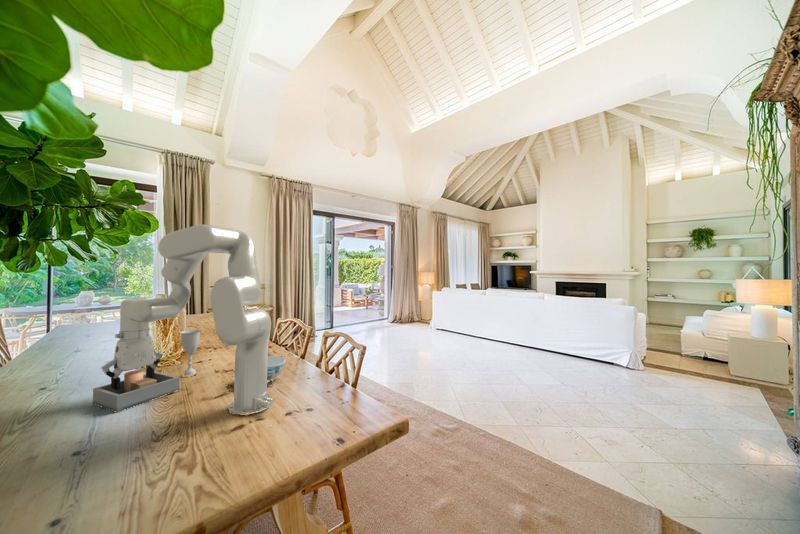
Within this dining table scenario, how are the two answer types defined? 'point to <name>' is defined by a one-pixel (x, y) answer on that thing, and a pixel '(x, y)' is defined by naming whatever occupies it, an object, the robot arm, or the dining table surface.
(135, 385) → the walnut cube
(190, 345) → the chalice
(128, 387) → the terracotta cylinder
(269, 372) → the chinaware
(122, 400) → the tray
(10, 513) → the dining table surface
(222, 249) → the robot arm
